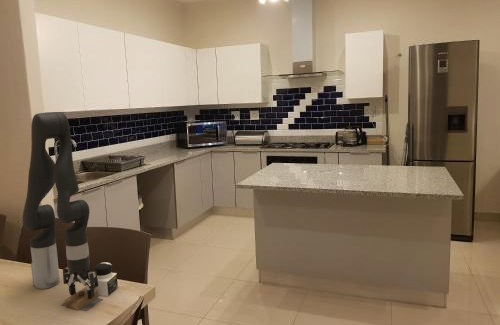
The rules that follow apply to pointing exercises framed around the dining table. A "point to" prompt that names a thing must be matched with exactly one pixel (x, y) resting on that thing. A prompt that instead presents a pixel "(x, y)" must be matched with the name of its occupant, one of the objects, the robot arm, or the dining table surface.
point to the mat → (89, 304)
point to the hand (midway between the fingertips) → (82, 296)
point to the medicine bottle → (106, 279)
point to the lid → (80, 299)
